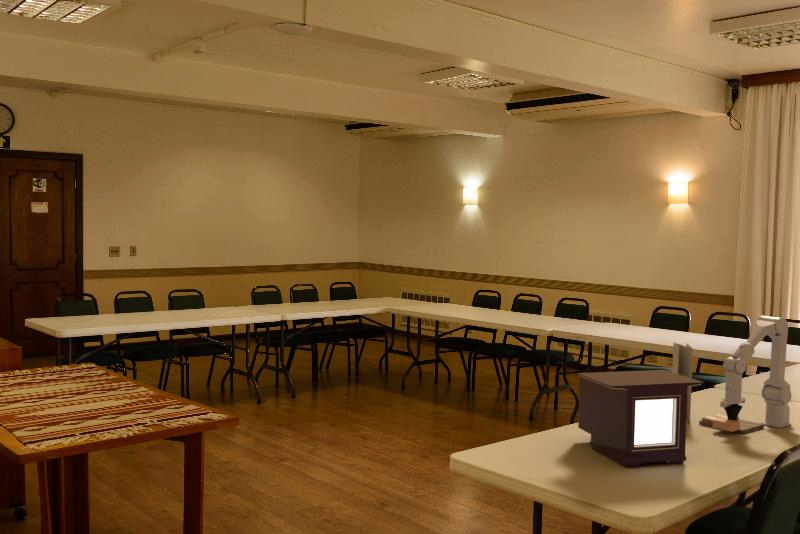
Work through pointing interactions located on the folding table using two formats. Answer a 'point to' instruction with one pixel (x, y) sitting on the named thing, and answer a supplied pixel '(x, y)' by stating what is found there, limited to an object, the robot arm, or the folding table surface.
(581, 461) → the folding table surface
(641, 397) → the brown box television
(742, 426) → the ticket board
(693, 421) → the folding table surface
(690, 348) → the brochure
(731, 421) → the orange rectangular block
